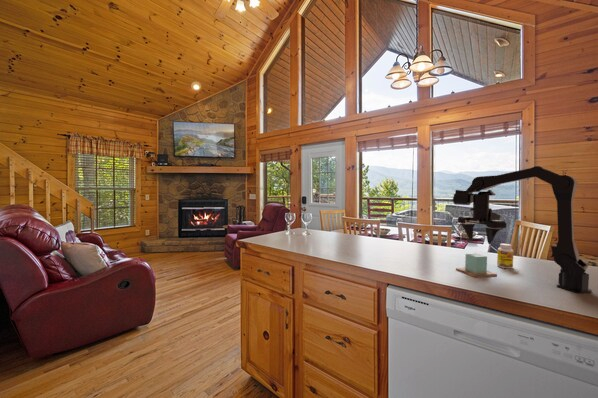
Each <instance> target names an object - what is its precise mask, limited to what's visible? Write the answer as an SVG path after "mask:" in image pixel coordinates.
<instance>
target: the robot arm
mask: <svg viewBox="0 0 598 398" xmlns="http://www.w3.org/2000/svg"><path fill="white" fill-rule="evenodd" d="M534 178H538V179H539V180H541V181H543V182H545V183H547V184H549V185H551V189H552V192H553V195H554V197H555V200H556V209H557V210H556V211H557V212H556V214H557V216H556V217H557V239H558V240H557V243H554V244H552V245H551V246H550V249H551V256H550V258H553V261H554V262H555V264H557V265H558V266H559V267H560V271H559V272H558V282H557V283H558V284H556V285H555V286H556V287H557V288H561V289H563V290H567V291H570V292H573V293H577V294H581V293H591V292H592V291H593V290H592V289H590V288H589V285H590V283H589V282H590V274H589V273H587V271H586V270H587V269H588V268H589V265H588V264H587V263H586V262H585V261H583V260H582V259H581V257H580V253H579V250H578V246H577V244H576V242H575V234H574V233H575V232H574V231H575V227H574V198H575V195H576V193H577V189H578V188H577V187H578V179H576V178H575V177H574V176H571V175H566V174H558V173H555V172H553V171H550V170H549V169H546V168H545V167H543V166H539V165H537V166H532V167H529V168H524V169H519V170H516V171H510V172H507V173H502V174H497V175H484V176H481V175H480V176H476V177H474V178H473V180H472V182H471V184H470V186H469V187H468V188H467V189H465V190H461V189H456V190H455V191H454V193H453V197H452V202H453V205H457V206H459V205H460V206H471V204H472V207H470V211H472V216H468V215H467V216H464V215H463V216H459V217H458V218H457V223H459V225H460V226H462V228H463V230H464V231H465V233H466V236H467V238H468V240H470V241H471V240H473V236H474V234H473V233H474V227H475V226H476V225H478V224H479V225H484V226H486V227H485V234H486V240H487V244H489V245H491V244H492V243H493V241H494V238H495V237H496V235H497V234H498V232H499V231H500V230H503V229H506V228H507V222H506V221H505V220H500V219H501V216H502V215H500V214H498V213H495V212H493V209H492V207H491V208H490V196H496V193H495V192H494V191H493V190H492V188H495V187H498V186H500V185H502V184H503V185H504V184H507V183H508V184H509V183H513V182H519V181H523V180H530V179H534ZM486 190H487V191H486Z"/></svg>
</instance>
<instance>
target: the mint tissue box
mask: <svg viewBox="0 0 598 398" xmlns="http://www.w3.org/2000/svg"><path fill="white" fill-rule="evenodd" d="M487 266H488V256H486V255H484V254H483V255H482V254H480V253H476V252H475V253H474V252H473V253H465V266H464V267H465V270H468V271H471V272H474V273H486V272H487V271H488V269H487V268H488V267H487Z"/></svg>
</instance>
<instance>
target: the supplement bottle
mask: <svg viewBox="0 0 598 398" xmlns="http://www.w3.org/2000/svg"><path fill="white" fill-rule="evenodd" d="M512 248H513V247H512V244H509V243H500V244H499V247H498V248H497V260H496V263H497V264H496V266H497V267H500V268H503V269H512V268H513V267H514V253H515V252H514V249H512Z"/></svg>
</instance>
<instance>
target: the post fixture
mask: <svg viewBox="0 0 598 398" xmlns="http://www.w3.org/2000/svg"><path fill="white" fill-rule="evenodd" d="M455 271H456V272H461V273H462V274H466V275H468V276H471V277H473V278H487V277H497V275H498V274H497V273H495V272H492V271H489V270H487V272H486V273H474V272H471V271H468V270H465V266H464V267H456V268H455Z"/></svg>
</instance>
